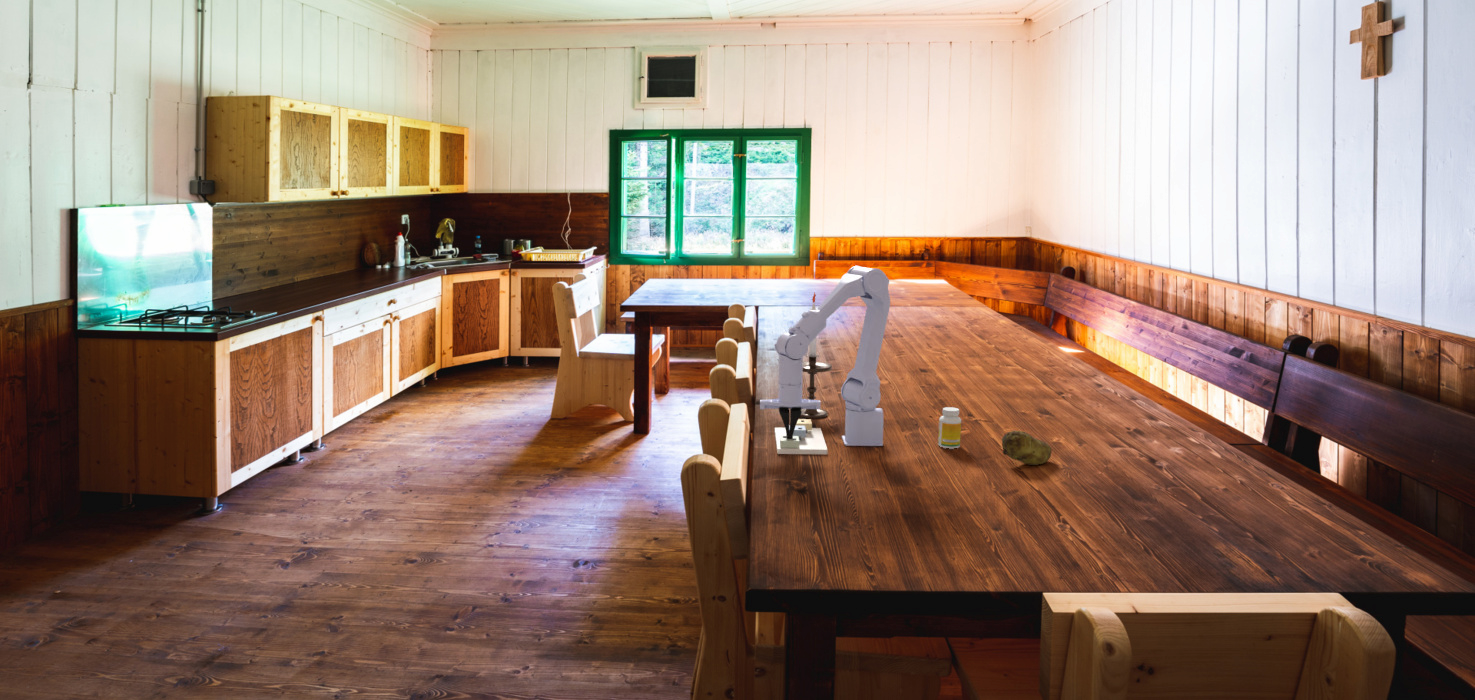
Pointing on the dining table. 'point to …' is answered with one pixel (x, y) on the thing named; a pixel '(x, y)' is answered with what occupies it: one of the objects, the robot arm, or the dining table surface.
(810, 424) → the tile one
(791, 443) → the tile three
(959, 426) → the supplement bottle
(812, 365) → the candlestick
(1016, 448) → the potato
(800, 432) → the tile two
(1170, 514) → the dining table surface
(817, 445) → the panel
